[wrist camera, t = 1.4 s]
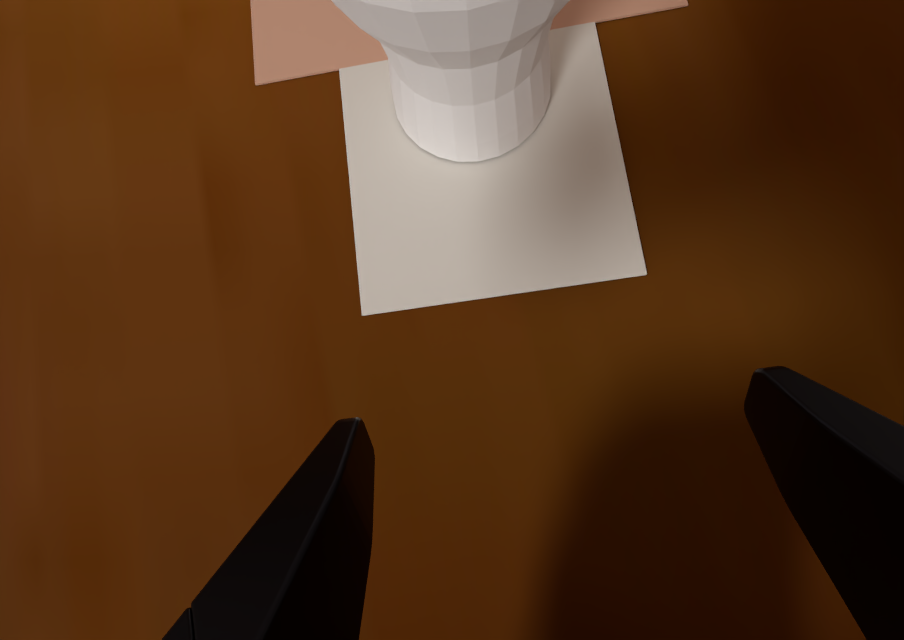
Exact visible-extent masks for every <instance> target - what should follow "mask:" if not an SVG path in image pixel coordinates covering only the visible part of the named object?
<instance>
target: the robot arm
mask: <svg viewBox="0 0 904 640" xmlns="http://www.w3.org/2000/svg"><path fill="white" fill-rule="evenodd" d="M744 411H745V415H746V418H747V420H748V422H749V425H750V427H751V429H752V431H753V433H754V436H755V438H756V440H757V442H758V444H759V446H760V449H761V451H762V453H763V455H764V457H765V460H766V462H767V464H768V466H769V468H770V471H771V473H772V475H773V477H774V479H775V481H776V484H777V486H778V488H779V490H780V492H781V494H782V496H783V498H784V500H785V502H786V504H787V506H788V507H789V509H790V511H791V513H792V514H793V516H794V518H795V520H796V521H797V523H798V525H799V526H800V528H801V530H802V531H803V533H804V535H805V536H806V538H807V540H808V541H809V543H810V545H811V546H812V548H813V550H814V551H815V553H816V555H817V557H818V558H819V560H820V562H821V563H822V565H823V567H824V568H825V570H826V572H827V573H828V575H829V577H830V578H831V580H832V582H833V583H834V585H835V587H836V589H837V590H838V592H839V594H840V595H841V597H842V599H843V600H844V602H845V604H846V605H847V607H848V609H849V610H850V612H851V614H852V615H853V617H854V619H855V621H856V622H857V624H858V626H859V627H860V629H861V631H862V632H863V634H864V636H865V637H866V639H867V640H904V426H902V425H900V424H898V423H896V422H894V421H892V420H890V419H888V418H886V417H884V416H882V415H880V414H878V413H876V412H874V411H872V410H870V409H868V408H866V407H865V406H863V405H861V404H859V403H857V402H855V401H853V400H851V399H849V398H847V397H845V396H843V395H841V394H839V393H837V392H835V391H833V390H831V389H829V388H827V387H825V386H823V385H821V384H819V383H817V382H815V381H813V380H811V379H809V378H807V377H805V376H803V375H801V374H799V373H797V372H795V371H793V370H791V369H789V368H787V367H783V366H775V367H767V368H759V369H757V370H756V371H755V372H754V373H753V375H752V378H751V381H750V385H749V388H748V392H747V395H746V399H745V403H744ZM374 468H375V455H374V449H373V446H372V443H371V440H370V438H369V435H368V432H367V430H366V427H365V424H364V422H363V421H362V419H361V418H358V417H356V418H348V419H341V420H338V421H337V422H336V423H335V424H334V425H333V426H332V427H331V429H330V430H329V431H328V432H327V434H326V435H325V436H324V438H323V439H322V440H321V441H320V443H319V444H318V445H317V446H316V448H315V449H314V450H313V451H312V453H311V454H310V455H309V456H308V458H307V459H306V460H305V461H304V463H303V464H302V465H301V466H300V468H299V469H298V470H297V471H296V473H295V474H294V475H293V476H292V478H291V479H290V480H289V481H288V483H287V484H286V485H285V486H284V488H283V489H282V490H281V491H280V493H279V494H278V495H277V496H276V498H275V499H274V500H273V501H272V503H271V504H270V505H269V506H268V508H267V509H266V510H265V511H264V513H263V514H262V515H261V516H260V518H259V519H258V520H257V521H256V523H255V524H254V525H253V526H252V528H251V529H250V530H249V531H248V533H247V534H246V535H245V536H244V538H243V539H242V540H241V541H240V543H239V544H238V545H237V546H236V548H235V549H234V550H233V551H232V553H231V554H230V555H229V556H228V558H227V559H226V560H225V561H224V563H223V564H222V565H221V566H220V568H219V569H218V570H217V571H216V573H215V574H214V575H213V576H212V578H211V579H210V580H209V581H208V583H207V584H206V585H205V586H204V588H203V589H202V590H201V591H200V593H199V594H198V595H197V596H196V598H195V599H194V600H193V601H192V603H191V608H187V609H186V610H185V611H184V612H183V614H182V615H181V616H180V617H179V619H178V620H177V621H176V622H175V624H174V625H173V626H172V627H171V629H170V630H169V631H168V632H167V634H166V635H165V636H164V637H163V638H162V640H359V634H360V627H361V620H362V613H363V606H364V599H365V592H366V584H367V577H368V570H369V563H370V556H371V547H372V533H373V502H374Z"/></svg>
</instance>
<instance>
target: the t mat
mask: <svg viewBox="0 0 904 640" xmlns="http://www.w3.org/2000/svg"><path fill="white" fill-rule="evenodd" d="M685 6H688V1H687V0H570V1H569V2H568V3H567V4H566V5H565V6H564V7H563V8H562V9H561V10H560V12H559V13H558V14H557V15H556V16H555V17H554V18H553V21H552V24H551V28H550V31H549V34H548V37H549V49H550V99H549V102H548V105H547V108H546V112H545V115H544V116H543V118H542V120H541V121H540V123H539V124H538V126H537V127H536V129H535V130H534V132H533V133H532V134H531V135H530V136H529V137H527V138H526V139H525V140H524V141H523V142H522V143H521V144H520V145H519V146H517V147H515V148H513V149H512V150H510V151H508V152H506V153H504V154H502V155H500V156H498V157H494V158H490V159H486V160H482V161H474V162H457V161H453V160H448V159H444V158H440V157H437V156H435V155H433V154H431V153H429V152H428V151H426V150H424V149H422V148H420V147H419V146H418V145H417V144H416V143H415V142H414V141H413V140H412V139H411V138H410V137H409V136H408V135H407V134H406V133H405V131H404V129H403V127H402V125H401V124H400V122H399V120H398V118H397V115H396V110H395V106H394V101H393V96H392V90H391V85H390V76H389V65H388V57H387V55H386V53H385V51H384V49H383V47H382V45H381V43H380V42H379V41H378V40H376V39H375V38H373V37H372V36H370V35H369V34H368V33H366V32H365V31H363V30H362V29H360V28H359V27H358V26H357V25H356V24H355V23H354V22H353V21H352V20H351V19H350V18H349V17H347V16H346V15H345V14H344V13H343V12H342V11H341V10H340V9H339V8H338V7H337V6H336V5H335V4H334V3H333V2H332V1H331V0H251V17H252V35H253V53H254V71H255V85H262V84H267V83H272V82H278V81H283V80H289V79H294V78H300V77H305V76H311V75H316V74H321V73H327V72H332V71H338V70H339V73H340V84H341V95H342V106H343V116H344V127H345V138H346V149H347V160H348V170H349V181H350V192H351V203H352V214H353V224H354V235H355V246H356V257H357V268H358V279H359V289H360V300H361V311H362V316H365V315H372V314H379V313H386V312H393V311H399V310H406V309H413V308H420V307H427V306H434V305H441V304H448V303H455V302H462V301H469V300H476V299H483V298H490V297H497V296H504V295H511V294H518V293H525V292H532V291H539V290H545V289H552V288H559V287H566V286H573V285H580V284H587V283H594V282H601V281H608V280H615V279H622V278H629V277H636V276H643V275H647V272H646V267H645V262H644V257H643V252H642V247H641V243H640V238H639V233H638V228H637V223H636V218H635V214H634V209H633V204H632V199H631V194H630V189H629V185H628V180H627V175H626V170H625V165H624V160H623V156H622V151H621V146H620V141H619V136H618V132H617V127H616V122H615V117H614V112H613V107H612V103H611V98H610V93H609V88H608V83H607V78H606V74H605V69H604V64H603V59H602V54H601V49H600V45H599V40H598V35H597V30H596V25H595V23H598V22H604V21H609V20H615V19H620V18H626V17H631V16H636V15H642V14H647V13H653V12H658V11H664V10H669V9H674V8H680V7H685Z"/></svg>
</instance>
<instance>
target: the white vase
mask: <svg viewBox="0 0 904 640" xmlns="http://www.w3.org/2000/svg"><path fill="white" fill-rule="evenodd" d="M331 1H332V2H333V3H334V4H335V5H336V6H337V7H338V8H339V9H340V10H341V11H342V12H343V13H344V14H345V15H346V16H347V17H349V18H350V19H351V20H352V21H353V22H354V23H355V24H356V25H357V26H358V27H359V28H360V29H362V30H363V31H365V32H366V33H368V34H369V35H370V36H372V37H373V38H375V39H376V40H378V41H379V42H380V43H381V45H382V47H383V49H384V51H385V53H386V55H387V57H388V65H389V76H390V85H391V90H392V96H393V101H394V106H395V110H396V115H397V118H398V120H399V122H400V124H401V125H402V127H403V129H404V131H405V133H406V134H407V135H408V136H409V137H410V138H411V139H412V140H413V141H414V142H415V143H416V144H417V145H418V146H419V147H420V148H422V149H424V150H426V151H428V152H429V153H431V154H433V155H435V156H437V157H440V158H444V159H448V160H453V161H457V162H474V161H482V160H486V159H490V158H494V157H498V156H500V155H502V154H504V153H506V152H508V151H510V150H512V149H513V148H515V147H517V146H519V145H520V144H521V143H522V142H523V141H524V140H525V139H526V138H527V137H529V136H530V135H531V134H532V133H533V132H534V130H535V129H536V127H537V126H538V124H539V123H540V121H541V120H542V118H543V116H544V115H545V112H546V108H547V105H548V102H549V99H550V49H549V37H548V34H549V31H550V28H551V24H552V21H553V18H554V17H555V16H556V15H557V14H558V13H559V12H560V10H561V9H562V8H563V7H564V6H565V5H566V4H567V3H568V2H569V1H570V0H331Z"/></svg>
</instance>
